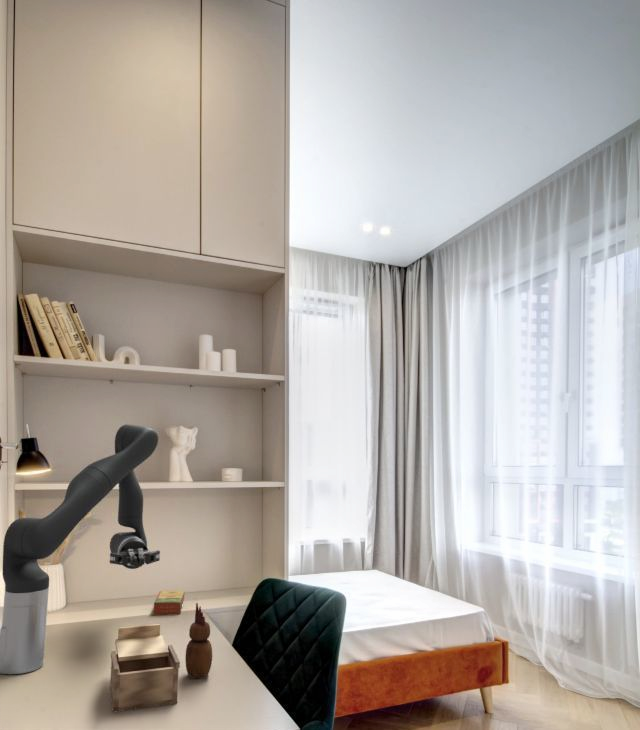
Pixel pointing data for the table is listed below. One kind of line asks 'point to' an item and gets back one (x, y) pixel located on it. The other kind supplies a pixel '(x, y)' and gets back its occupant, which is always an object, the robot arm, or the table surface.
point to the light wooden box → (144, 681)
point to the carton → (168, 602)
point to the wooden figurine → (199, 647)
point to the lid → (140, 643)
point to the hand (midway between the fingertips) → (138, 562)
